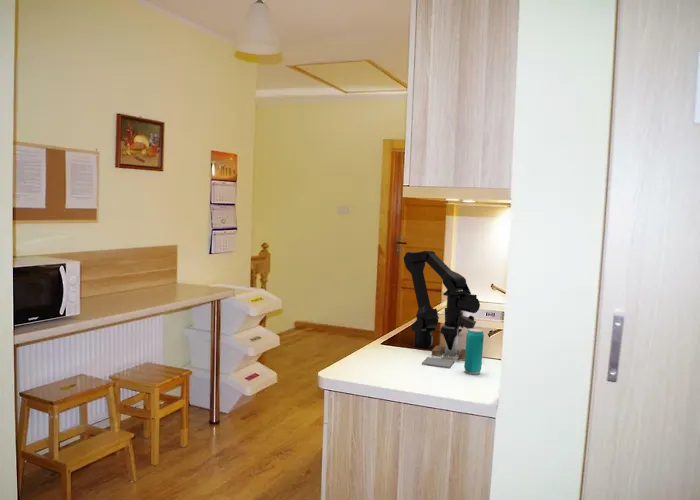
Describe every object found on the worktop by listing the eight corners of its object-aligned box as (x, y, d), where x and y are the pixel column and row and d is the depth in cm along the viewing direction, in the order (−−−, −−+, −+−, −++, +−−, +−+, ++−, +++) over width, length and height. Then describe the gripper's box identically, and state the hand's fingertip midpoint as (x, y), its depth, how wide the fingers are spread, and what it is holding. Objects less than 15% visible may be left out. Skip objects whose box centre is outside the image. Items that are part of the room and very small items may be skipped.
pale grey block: (444, 355, 222) (446, 335, 221) (446, 353, 226) (447, 333, 225) (455, 357, 221) (456, 336, 220) (456, 354, 224) (458, 334, 224)
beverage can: (481, 371, 202) (485, 329, 201) (479, 376, 196) (483, 332, 195) (465, 369, 203) (468, 327, 202) (462, 373, 198) (465, 330, 197)
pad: (421, 364, 207) (421, 362, 207) (427, 358, 216) (427, 356, 216) (449, 368, 203) (449, 366, 203) (454, 362, 213) (454, 360, 213)
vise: (431, 355, 221) (432, 350, 221) (436, 350, 230) (436, 345, 229) (478, 361, 215) (478, 356, 215) (481, 356, 224) (481, 351, 224)
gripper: (472, 314, 211) (468, 357, 212) (478, 307, 228) (475, 346, 229) (441, 311, 214) (438, 352, 215) (450, 304, 232) (447, 343, 233)
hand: (451, 348), depth 223 cm, fingers closed on pale grey block, 4 cm apart
